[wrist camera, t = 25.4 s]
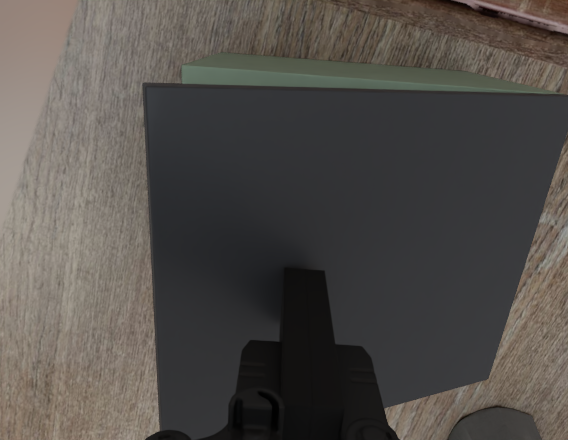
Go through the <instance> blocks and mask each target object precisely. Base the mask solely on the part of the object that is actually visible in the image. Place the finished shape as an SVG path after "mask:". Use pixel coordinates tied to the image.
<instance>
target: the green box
mask: <svg viewBox="0 0 568 440" xmlns="http://www.w3.org/2000/svg"><path fill="white" fill-rule="evenodd" d="M181 67H182V84H215V85H250V86H286V87H321V88H357V89H393V90H428V91H464V92H500V93H535V94H561V93H557V92H553V91H549V90H544V89H540V88H536V87H531V86H527V85H523V84H519V83H514V82H510V81H506V80H501V79H497V78H493V77H489V76H484V75H480V74H476V73H471V72H467V71H456V70H444V69H431V68H418V67H405V66H392V65H379V64H366V63H353V62H340V61H327V60H314V59H301V58H288V57H275V56H262V55H249V54H236V53H223V52H221V53H218V54H214V55H211V56H208V57H205V58H202V59H199V60H196V61H193V62H190V63H187V64H183V65H182V66H181Z"/></svg>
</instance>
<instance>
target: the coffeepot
mask: <svg viewBox="0 0 568 440" xmlns="http://www.w3.org/2000/svg"><path fill="white" fill-rule="evenodd" d="M448 440H542V439H541V437H540V434H539V432H538V430H537V427H536V425H535V422H534V420H533V417H532V416H530V415H528V414H525V413H523V412H520V411H517V410H514V409H510V408H499V407H496V408H488V409H484V410H480V411H477V412H475V413H473V414H470V415H469V416H467V417H465V418H464V419H462V420H461V421H460V422H459V423H458V424H457V425H456V426H455V427H454V428H453V430H452V431H451V433H450V436H449V439H448Z"/></svg>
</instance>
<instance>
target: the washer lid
mask: <svg viewBox="0 0 568 440" xmlns="http://www.w3.org/2000/svg"><path fill="white" fill-rule="evenodd" d="M143 105H144V125H145V145H146V165H147V185H148V205H149V225H150V245H151V265H152V285H153V305H154V325H155V345H156V365H157V385H158V405H159V425H160V431H164V430H177V431H181V432H183V433H185V434H187V435H188V436H189V437H190V438H191V440H196V439H201V438H205V437H208V436H211V435H214V434H216V433H217V432H219V431H221V430H222V429H223V428H224V427H225V426H226V425H227V424H228V404H229V402H230V400H231V397H232V396H233V395H234V394H235V392H236V386H237V379H238V372H239V366H240V359H241V353H242V349H243V348H244V347H245V346H246V344H247V343H248V342H249V341H250V340H261V341H277V342H279V334H280V318H281V306H282V294H283V281H284V269H285V268H295V269H310V270H324V271H325V276H326V283H327V290H328V296H329V303H330V310H331V317H332V324H333V331H334V338H335V344H339V345H355V346H362V347H363V348H364V349H365V350H366V352H367V353H368V354H369V355H370V357H371V358H372V362H373V366H374V373H375V374H376V378H377V383H378V386H379V390H380V394H381V398H382V403H383V407H384V408H387V407H391V406H394V405H398V404H401V403H405V402H408V401H412V400H416V399H419V398H423V397H426V396H430V395H433V394H437V393H440V392H444V391H448V390H451V389H455V388H458V387H462V386H465V385H469V384H472V383H476V382H480V381H483V380H487V379H488V378H489V375H490V372H491V369H492V366H493V363H494V359H495V356H496V353H497V350H498V347H499V344H500V341H501V338H502V334H503V331H504V328H505V325H506V322H507V319H508V316H509V313H510V310H511V306H512V303H513V300H514V297H515V294H516V291H517V288H518V285H519V281H520V278H521V275H522V272H523V269H524V266H525V263H526V260H527V257H528V253H529V250H530V247H531V244H532V241H533V238H534V235H535V232H536V228H537V225H538V222H539V219H540V216H541V213H542V210H543V207H544V204H545V200H546V197H547V194H548V191H549V188H550V185H551V182H552V179H553V176H554V172H555V169H556V166H557V163H558V160H559V157H560V154H561V151H562V147H563V144H564V141H565V138H566V135H567V132H568V95H564V94H535V93H500V92H464V91H428V90H393V89H357V88H321V87H286V86H250V85H215V84H179V83H143Z"/></svg>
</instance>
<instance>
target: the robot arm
mask: <svg viewBox="0 0 568 440" xmlns="http://www.w3.org/2000/svg"><path fill="white" fill-rule="evenodd" d="M145 440H191V438H190V437H189V436H188V435H187V434H185V433H183V432H181V431H177V430H164V431H160V432H156V433H155V434H153V435H151V436H149V437H147V438H146V439H145ZM196 440H400V439H399V438H398V437H397V435H396V433H395V431H394V430H393V429H392V428H391V427H390V426H389V425H388V422H387V419H386V415H385V411H384V407H383V403H382V398H381V394H380V390H379V386H378V383H377V378H376V374H375V373H374V366H373V362H372V358H371V357H370V355H369V354H368V353H367V352H366V350H365V349H364V348H363V347H362V346H355V345H339V344H335V338H334V331H333V324H332V317H331V310H330V303H329V296H328V290H327V283H326V276H325V271H324V270H310V269H295V268H285V269H284V281H283V294H282V306H281V318H280V334H279V342H277V341H261V340H250V341H249V342H248V343H247V344H246V346H245V347H244V348H243V349H242V353H241V359H240V366H239V372H238V379H237V386H236V392H235V394H234V395H233V396H232V397H231V400H230V402H229V404H228V424H227V425H226V426H225V427H224V428H223V429H222V430H221V431H219V432H217V433H216V434H214V435H211V436H208V437H205V438H201V439H196Z"/></svg>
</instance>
